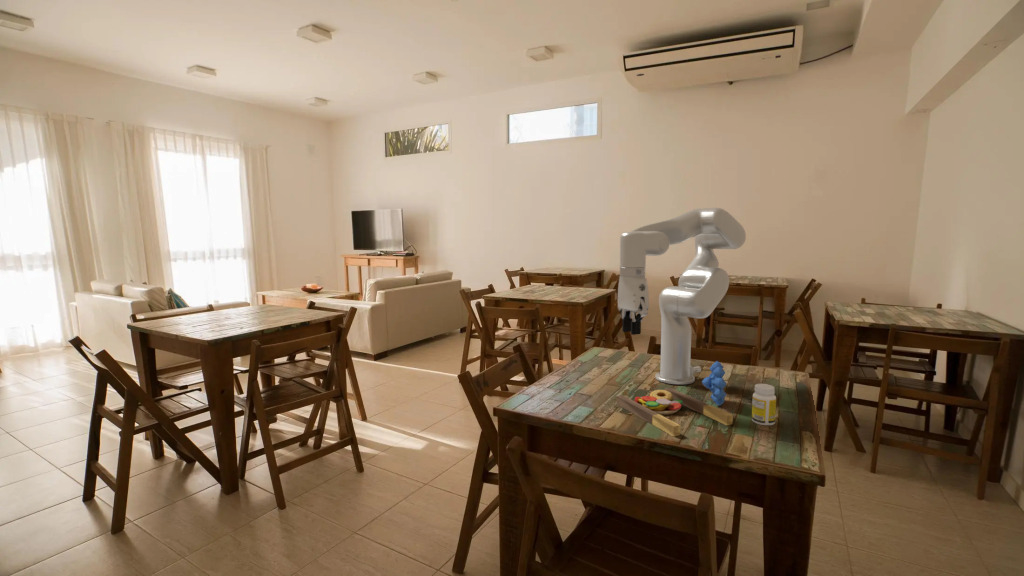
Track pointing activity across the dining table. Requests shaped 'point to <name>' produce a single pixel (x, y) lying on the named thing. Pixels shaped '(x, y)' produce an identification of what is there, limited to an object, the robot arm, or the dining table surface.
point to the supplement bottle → (764, 404)
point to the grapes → (716, 383)
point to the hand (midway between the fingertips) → (631, 332)
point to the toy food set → (660, 402)
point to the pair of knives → (667, 424)
